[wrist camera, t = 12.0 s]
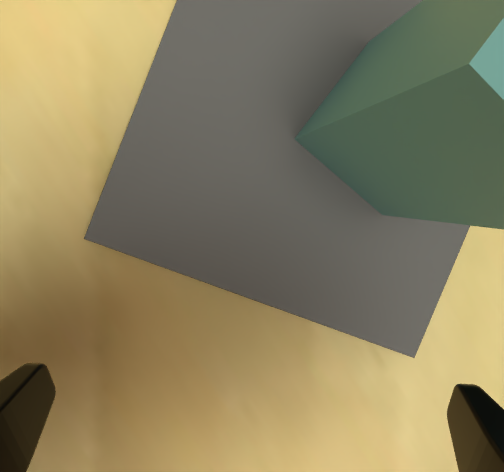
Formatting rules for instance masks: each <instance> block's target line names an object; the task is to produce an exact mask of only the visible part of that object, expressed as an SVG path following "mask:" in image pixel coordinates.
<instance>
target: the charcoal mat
mask: <svg viewBox="0 0 504 472" xmlns="http://www.w3.org/2000/svg"><path fill="white" fill-rule="evenodd" d="M421 1H423V0H177V2H176V4H175V7H174V9H173V12H172V14H171V17H170V20H169V22H168V25H167V27H166V30H165V32H164V35H163V37H162V40H161V43H160V45H159V48H158V50H157V53H156V55H155V58H154V60H153V63H152V66H151V68H150V71H149V73H148V76H147V78H146V81H145V84H144V86H143V89H142V91H141V94H140V96H139V99H138V101H137V104H136V107H135V109H134V112H133V114H132V117H131V119H130V122H129V124H128V127H127V130H126V132H125V135H124V137H123V140H122V142H121V145H120V148H119V150H118V153H117V155H116V158H115V160H114V163H113V165H112V168H111V171H110V173H109V176H108V178H107V181H106V183H105V186H104V188H103V191H102V194H101V196H100V199H99V201H98V204H97V206H96V209H95V211H94V214H93V217H92V219H91V222H90V224H89V227H88V229H87V232H86V235H85V237H84V239H86V240H89V241H92V242H94V243H97V244H100V245H103V246H105V247H108V248H111V249H114V250H116V251H119V252H122V253H125V254H128V255H130V256H133V257H136V258H139V259H141V260H144V261H147V262H150V263H153V264H155V265H158V266H161V267H164V268H166V269H169V270H172V271H175V272H177V273H180V274H183V275H186V276H189V277H191V278H194V279H197V280H200V281H202V282H205V283H208V284H211V285H213V286H216V287H219V288H222V289H225V290H227V291H230V292H233V293H236V294H238V295H241V296H244V297H247V298H249V299H252V300H255V301H258V302H261V303H263V304H266V305H269V306H272V307H274V308H277V309H280V310H283V311H286V312H288V313H291V314H294V315H297V316H299V317H302V318H305V319H308V320H310V321H313V322H316V323H319V324H322V325H324V326H327V327H330V328H333V329H335V330H338V331H341V332H344V333H346V334H349V335H352V336H355V337H358V338H360V339H363V340H366V341H369V342H371V343H374V344H377V345H380V346H382V347H385V348H388V349H391V350H394V351H396V352H399V353H402V354H405V355H407V356H410V357H413V358H414V357H415V355H416V353H417V350H418V348H419V346H420V343H421V341H422V338H423V336H424V334H425V331H426V329H427V327H428V324H429V322H430V320H431V317H432V315H433V312H434V310H435V308H436V305H437V303H438V301H439V298H440V296H441V293H442V291H443V289H444V286H445V284H446V282H447V279H448V277H449V275H450V272H451V270H452V267H453V265H454V263H455V260H456V258H457V256H458V253H459V251H460V248H461V246H462V244H463V241H464V239H465V237H466V234H467V232H468V230H469V227H470V225H463V224H454V223H446V222H437V221H429V220H420V219H412V218H403V217H395V216H386V215H382V214H381V213H379V212H378V211H377V210H376V209H375V208H374V207H372V206H371V205H370V204H369V203H368V202H367V201H365V200H364V199H363V198H362V197H361V196H360V195H359V194H357V193H356V192H355V191H354V190H353V189H352V188H350V187H349V186H348V185H347V184H346V183H345V182H343V181H342V180H341V179H340V178H339V177H338V176H337V175H335V174H334V173H333V172H332V171H331V170H330V169H328V168H327V167H326V166H325V165H324V164H323V163H321V162H320V161H319V160H318V159H317V158H316V157H315V156H313V155H312V154H311V153H310V152H309V151H308V150H306V149H305V148H304V147H303V146H302V145H301V144H299V143H298V142H297V141H296V140H295V137H296V136H297V135H298V133H299V132H300V131H301V130H302V128H303V127H304V126H305V124H306V123H307V122H308V120H309V119H310V118H311V117H312V115H313V114H314V113H315V111H316V110H317V109H318V107H319V106H320V105H321V104H322V102H323V101H324V100H325V98H326V97H327V96H328V94H329V93H330V92H331V91H332V89H333V88H334V87H335V85H336V84H337V83H338V81H339V80H340V79H341V77H342V76H343V75H344V74H345V72H346V71H347V70H348V68H349V67H350V66H351V64H352V63H353V62H354V61H355V59H356V58H357V57H358V55H359V54H360V53H361V51H362V50H363V49H364V48H365V46H366V45H367V44H368V42H369V41H370V40H372V39H373V38H374V37H376V36H377V35H378V34H380V33H381V32H382V31H383V30H385V29H386V28H387V27H389V26H390V25H391V24H393V23H394V22H395V21H397V20H398V19H399V18H400V17H402V16H403V15H404V14H406V13H407V12H408V11H410V10H411V9H412V8H414V7H415V6H416V5H417V4H419V3H420V2H421Z"/></svg>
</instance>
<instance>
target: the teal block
mask: <svg viewBox="0 0 504 472" xmlns="http://www.w3.org/2000/svg"><path fill="white" fill-rule="evenodd" d="M295 140H296V141H297V142H298V143H299V144H301V145H302V146H303V147H304V148H305V149H306V150H308V151H309V152H310V153H311V154H312V155H313V156H315V157H316V158H317V159H318V160H319V161H320V162H321V163H323V164H324V165H325V166H326V167H327V168H328V169H330V170H331V171H332V172H333V173H334V174H335V175H337V176H338V177H339V178H340V179H341V180H342V181H343V182H345V183H346V184H347V185H348V186H349V187H350V188H352V189H353V190H354V191H355V192H356V193H357V194H359V195H360V196H361V197H362V198H363V199H364V200H365V201H367V202H368V203H369V204H370V205H371V206H372V207H374V208H375V209H376V210H377V211H378V212H379V213H381V214H382V215H386V216H395V217H403V218H412V219H420V220H429V221H437V222H446V223H454V224H463V225H471V226H480V227H488V228H497V229H504V0H423V1H421V2H420V3H419V4H417V5H416V6H415V7H414V8H412V9H411V10H410V11H408V12H407V13H406V14H404V15H403V16H402V17H400V18H399V19H398V20H397V21H395V22H394V23H393V24H391V25H390V26H389V27H387V28H386V29H385V30H383V31H382V32H381V33H380V34H378V35H377V36H376V37H374V38H373V39H372V40H370V41H369V42H368V44H367V45H366V46H365V48H364V49H363V50H362V51H361V53H360V54H359V55H358V57H357V58H356V59H355V61H354V62H353V63H352V64H351V66H350V67H349V68H348V70H347V71H346V72H345V74H344V75H343V76H342V77H341V79H340V80H339V81H338V83H337V84H336V85H335V87H334V88H333V89H332V91H331V92H330V93H329V94H328V96H327V97H326V98H325V100H324V101H323V102H322V104H321V105H320V106H319V107H318V109H317V110H316V111H315V113H314V114H313V115H312V117H311V118H310V119H309V120H308V122H307V123H306V124H305V126H304V127H303V128H302V130H301V131H300V132H299V133H298V135H297V136H296V137H295Z"/></svg>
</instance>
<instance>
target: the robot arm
mask: <svg viewBox="0 0 504 472" xmlns="http://www.w3.org/2000/svg"><path fill="white" fill-rule="evenodd" d="M55 392H56V391H55V385H54V383H53V380H52V378H51V375H50V373H49V370H48V368H47V366H46V365H44V364H40V363H27V364H24V365H23V366H21V367H20V368H18V369H17V370H15V371H14V372H12V373H11V374H10V375H8V376H7V377H5V378H4V379H2V380H1V381H0V472H26V471H27V469H28V467H29V464H30V462H31V459H32V457H33V455H34V452H35V449H36V447H37V444H38V441H39V438H40V436H41V433H42V430H43V428H44V425H45V422H46V420H47V417H48V414H49V412H50V409H51V406H52V404H53V401H54V398H55ZM447 419H448V424H449V429H450V433H451V438H452V442H453V447H454V451H455V456H456V461H457V465H458V470H459V472H504V409H503V408H502V407H500V406H499V405H498V404H497V403H496V402H495V401H494V400H493V399H492V398H491V397H490V396H489V395H488V394H487V393H486V392H485V391H484V390H483V389H481V388H480V387H479V386H477V385H473V384H457V385H456V386H455V387H454V390H453V393H452V396H451V399H450V402H449V406H448V409H447Z"/></svg>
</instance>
